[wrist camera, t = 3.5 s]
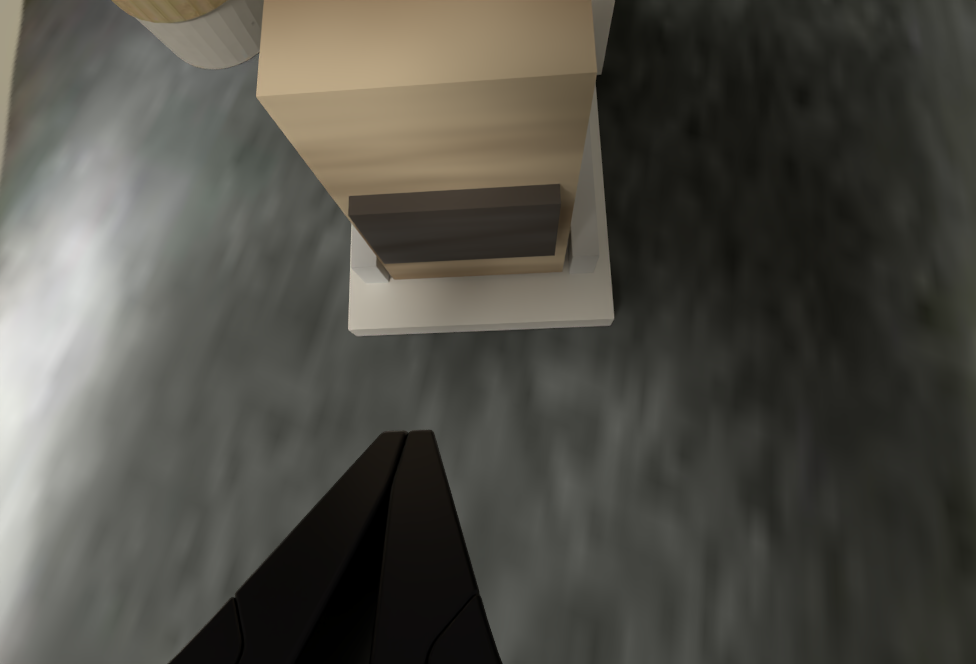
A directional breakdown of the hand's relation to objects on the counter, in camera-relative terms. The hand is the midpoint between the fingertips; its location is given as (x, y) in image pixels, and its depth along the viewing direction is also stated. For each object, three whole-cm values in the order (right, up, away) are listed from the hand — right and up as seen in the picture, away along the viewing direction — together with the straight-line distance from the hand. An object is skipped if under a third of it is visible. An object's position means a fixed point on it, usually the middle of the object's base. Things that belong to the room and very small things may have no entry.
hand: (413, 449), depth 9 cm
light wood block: (+1, +6, +14) cm, 15 cm away
